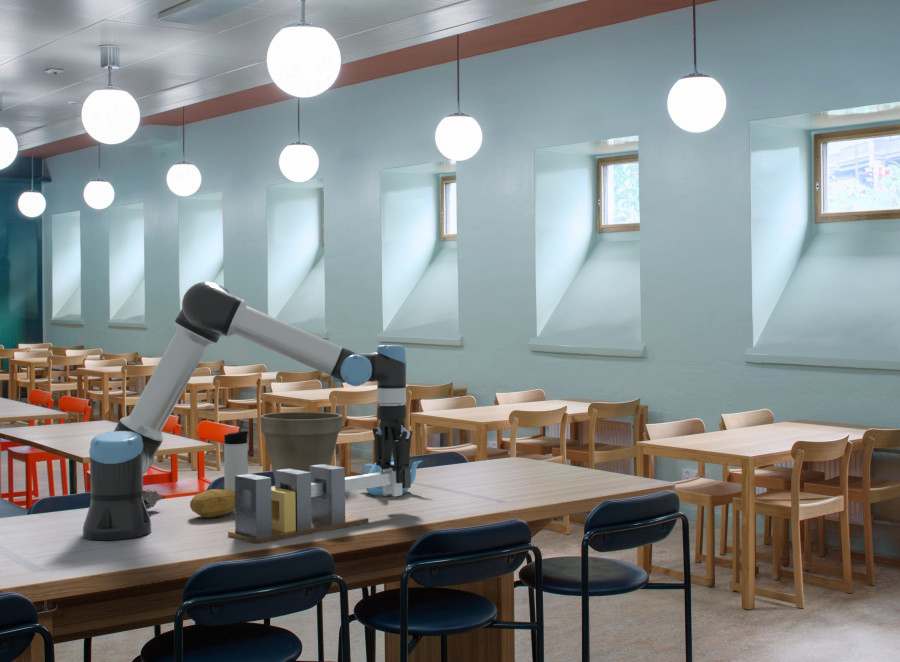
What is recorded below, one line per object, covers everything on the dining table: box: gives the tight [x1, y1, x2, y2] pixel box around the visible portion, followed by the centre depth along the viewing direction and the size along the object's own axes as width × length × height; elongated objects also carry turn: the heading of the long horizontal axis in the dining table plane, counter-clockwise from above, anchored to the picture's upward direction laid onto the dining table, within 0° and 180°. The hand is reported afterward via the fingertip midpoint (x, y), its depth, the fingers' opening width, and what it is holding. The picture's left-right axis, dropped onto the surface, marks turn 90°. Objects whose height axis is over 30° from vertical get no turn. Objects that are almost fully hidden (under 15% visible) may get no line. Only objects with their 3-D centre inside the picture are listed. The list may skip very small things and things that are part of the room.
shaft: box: [288, 464, 412, 497], centre depth 238 cm, size 35×6×6 cm, turn 134°
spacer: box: [271, 486, 296, 532], centre depth 223 cm, size 3×9×9 cm, turn 42°
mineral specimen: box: [143, 488, 164, 510], centre depth 250 cm, size 10×8×10 cm
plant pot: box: [259, 411, 343, 478], centre depth 290 cm, size 25×25×22 cm
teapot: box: [361, 457, 423, 497], centre depth 276 cm, size 15×15×10 cm
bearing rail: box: [227, 464, 369, 545], centre depth 227 cm, size 32×12×14 cm, turn 134°
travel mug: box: [223, 430, 249, 492], centre depth 261 cm, size 6×7×20 cm
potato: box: [189, 488, 235, 519], centre depth 244 cm, size 9×13×7 cm
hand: (392, 494), depth 247 cm, fingers closed on shaft, 3 cm apart
